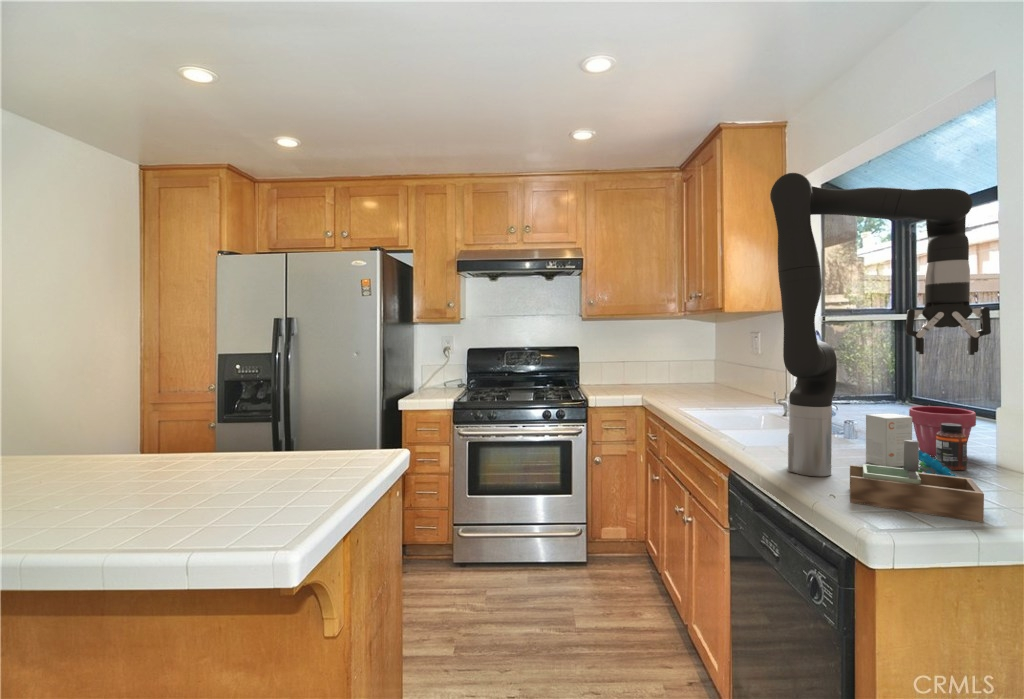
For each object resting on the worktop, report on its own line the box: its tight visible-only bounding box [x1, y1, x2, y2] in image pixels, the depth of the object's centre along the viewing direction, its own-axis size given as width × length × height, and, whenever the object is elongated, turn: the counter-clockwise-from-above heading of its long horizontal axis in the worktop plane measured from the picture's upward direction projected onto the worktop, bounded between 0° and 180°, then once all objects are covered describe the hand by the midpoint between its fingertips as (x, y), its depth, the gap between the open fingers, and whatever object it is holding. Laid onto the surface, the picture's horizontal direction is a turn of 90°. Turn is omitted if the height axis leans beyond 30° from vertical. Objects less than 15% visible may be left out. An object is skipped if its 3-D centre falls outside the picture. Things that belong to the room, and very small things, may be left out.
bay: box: [849, 464, 985, 523], centre depth 101 cm, size 20×11×5 cm, turn 56°
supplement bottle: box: [935, 423, 968, 471], centre depth 126 cm, size 6×6×11 cm
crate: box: [862, 439, 921, 484], centre depth 103 cm, size 9×8×12 cm
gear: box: [918, 449, 958, 477], centre depth 115 cm, size 11×6×10 cm
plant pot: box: [908, 405, 977, 457], centre depth 139 cm, size 14×14×13 cm
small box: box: [865, 413, 913, 468], centre depth 131 cm, size 8×6×13 cm
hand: (945, 354), depth 111 cm, fingers open, 8 cm apart
